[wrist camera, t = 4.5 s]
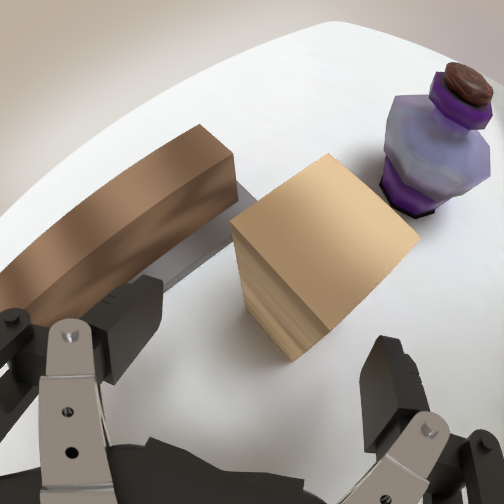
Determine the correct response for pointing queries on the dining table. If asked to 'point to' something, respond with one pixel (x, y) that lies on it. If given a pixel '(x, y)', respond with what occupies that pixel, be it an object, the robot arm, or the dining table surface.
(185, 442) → the dining table surface
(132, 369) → the dining table surface
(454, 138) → the potion bottle
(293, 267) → the wooden block
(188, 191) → the chalkboard eraser
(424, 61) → the dining table surface
